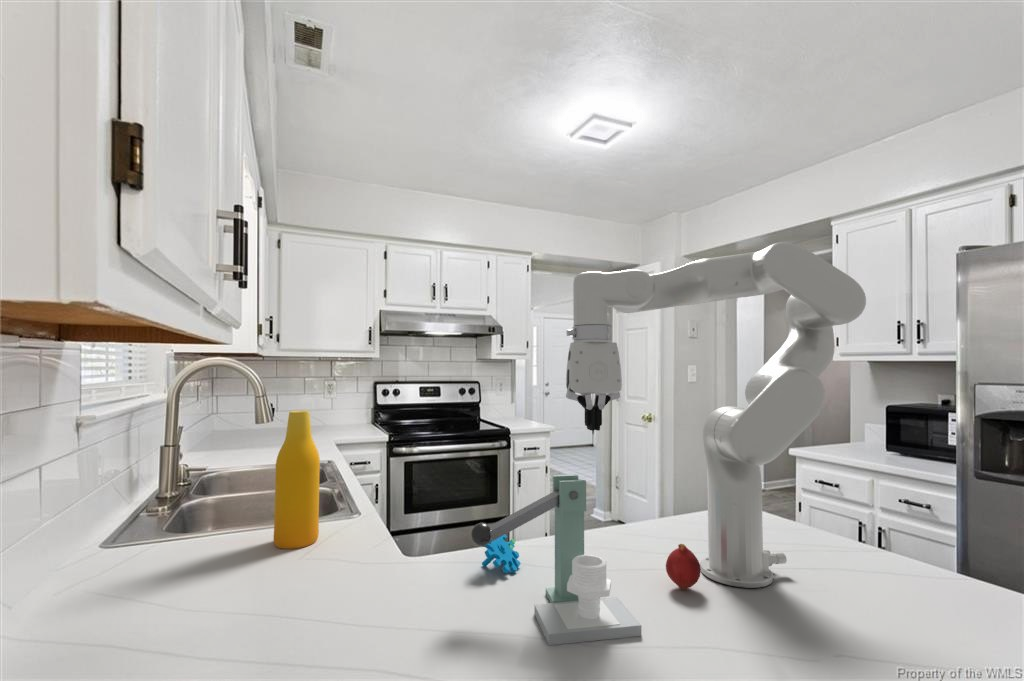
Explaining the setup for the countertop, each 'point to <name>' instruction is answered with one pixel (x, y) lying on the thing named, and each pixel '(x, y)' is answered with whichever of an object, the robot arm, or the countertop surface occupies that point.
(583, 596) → the pipe fitting
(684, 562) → the onion
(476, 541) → the lever
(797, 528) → the countertop surface
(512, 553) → the gear
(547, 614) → the press
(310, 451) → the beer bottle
